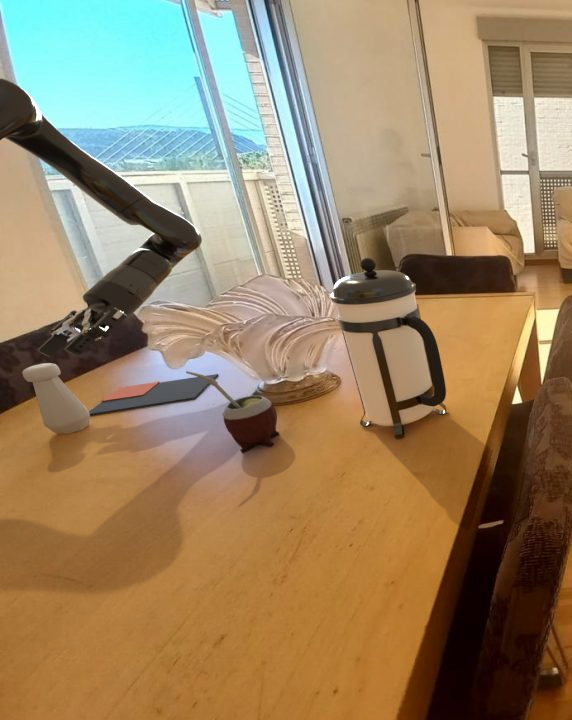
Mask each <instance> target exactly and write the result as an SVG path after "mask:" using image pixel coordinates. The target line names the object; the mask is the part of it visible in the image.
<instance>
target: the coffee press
mask: <svg viewBox="0 0 572 720" xmlns="http://www.w3.org/2000/svg"><path fill="white" fill-rule="evenodd" d="M359 266H360V268H361V269H362V270H363V271H361V272H356V273H353V274H349V275H346V276H344V277H342V278H341V279H338V280H337V281H336V282H335V284H334V285H333V288H332V293H331V294H330V299H331V302H333V304H335V307H336V310H337V314H338V316H337V320H338V324H339V326H340V330H341V331H342V332H341V333H342V336H343V339H344V343H345V347H346V350H347V355H348V359H349V361H350V365H351V368H352V372H353V376H354V379H355V383H356V385H357V386H356V387H357V391H358V394H359V397H360V401H361V405H362V409H363V415H362V416H361V419H360V420H359V425H360V426H362V427H365V428H366V427H369V425H370V424H371V423H372V424H375V425H377V426H382V427H393V435H394V438H395V439H399V438H400V439H401V438H405V425H408V424H410V423H414V422H417V421H419V420H421V419H423V418H425V417H426V416H427V415H429V414H430V413H432V412H434V413H436V414H437V415H440V416H442V415H443V416H444V415H445V414H446V413H447V406H446V405H445V404H444V403H443V402H444V401H445V399H446V396H447V388H446V387H447V386H446V381H445V375H444V371H443V370H444V369H443V365H442V360H441V355H440V350H439V347H438V343H437V339H436V337H435V335H434V333H433V330H432V329H431V328H430V326H429V325H428V324H427V322H425V321H424V320H423V319H422V318H421V317H422V316H421V312H420V306H419V304H418V302H417V299H416V291H417V286H416V283H415V282H412V280H411V279H410V277H409V276H408V275H407V274H405V273H403V272H400V271H398V270H389V269H380V270H375V269H376V268H377V267H376V266H377V263H376V262H375V260H374V259H372V258H370V257H365V258H363V259H361V261H360V265H359ZM438 405H439V406H440V407H441V408H442V409H443V410H440V409H438V408H436V406H438ZM365 415H366V417H367V419H368V420H369V421H367V422H366V421H364V420H363V419H364V418H365Z"/></svg>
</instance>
